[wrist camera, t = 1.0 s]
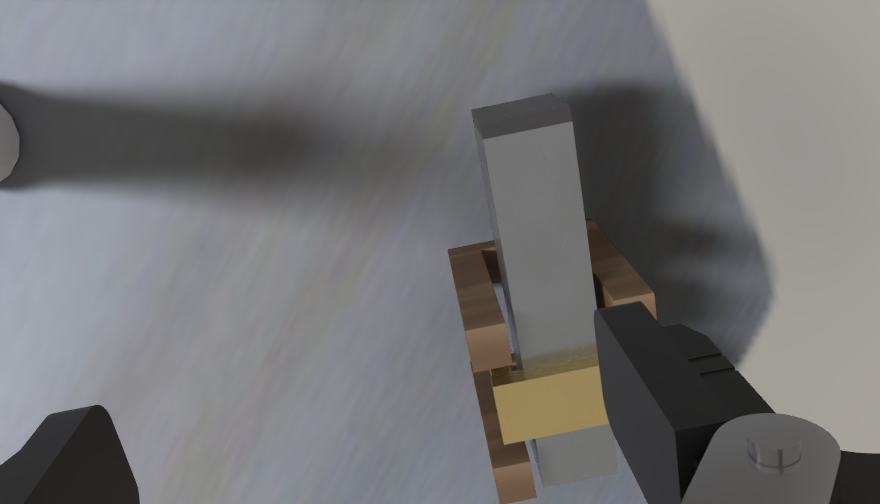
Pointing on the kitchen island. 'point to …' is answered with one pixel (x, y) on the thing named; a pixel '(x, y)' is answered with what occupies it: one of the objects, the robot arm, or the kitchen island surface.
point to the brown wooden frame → (491, 344)
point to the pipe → (7, 144)
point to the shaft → (544, 259)
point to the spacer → (548, 398)
